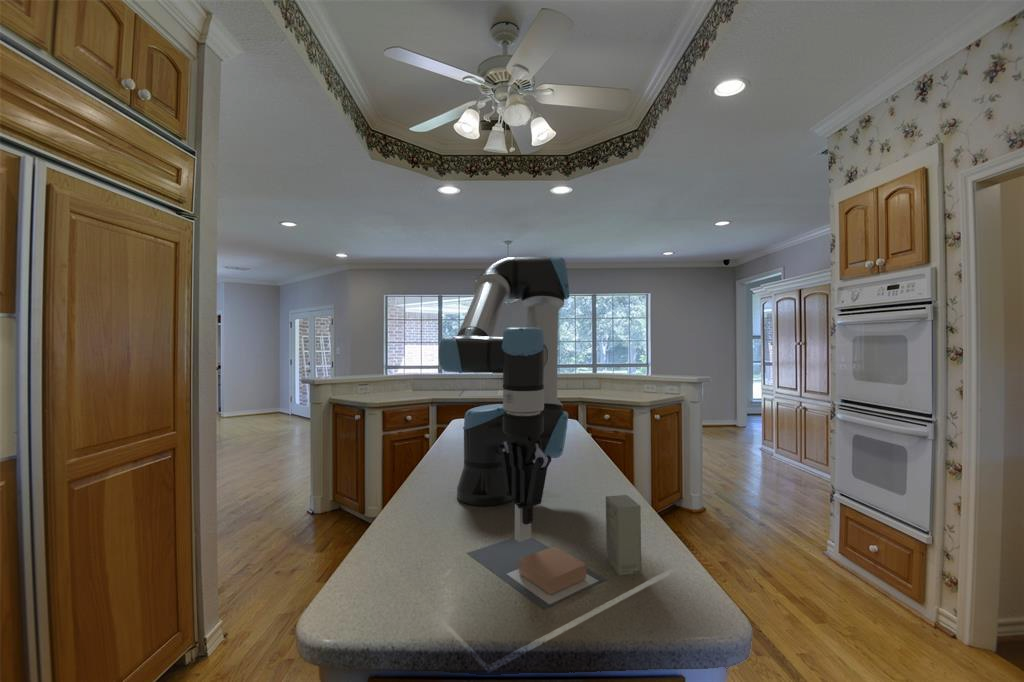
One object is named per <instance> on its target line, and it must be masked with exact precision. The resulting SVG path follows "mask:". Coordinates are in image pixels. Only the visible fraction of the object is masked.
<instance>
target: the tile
mask: <svg viewBox="0 0 1024 682" xmlns="http://www.w3.org/2000/svg"><path fill="white" fill-rule="evenodd" d="M586 568H587V563H585V562H584V561H581V560H579V559H577V558H576V557H574V556H573V555H570V554H569V553H566V552H565V551H564V550H561V549H560V548H557V547H556V546H551V547H550V548H548V549H545V550H543V551H540V552H537V553H535V554H532V555H529V556H527V557H524V558H521V559H519V574H521V575H522V576H524V577H525V578H527V579H528V580H530V581H531V582H533V583H534V584H535V585H537V586H538V587H540V588H541V589H543V590H544V591H546V592H547V593H549V594H550V595H551V594H553V593H555V592H557V591H560V590H562V589H564V588H566V587H568V586H571V585H573V584H575V583H577V582H579V581H581V580H584V579H586Z"/></svg>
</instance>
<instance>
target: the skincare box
mask: <svg viewBox="0 0 1024 682" xmlns="http://www.w3.org/2000/svg"><path fill="white" fill-rule="evenodd" d="M641 511H642V509H641V504H639V502H636V501H635V500H634V499H633V498H631V497H630V496H628V495H627V494H623V495H622V494H621V495H620V494H619V495H608V496H607V495H606V496H605V534H606V535H605V536H606V537H605V539H606V540H605V541H606V543H605V545H606V547H605V548H606V560H607V561H608V563H609V564H610V565H611V567H612V568H613V570H614V571H615V572H616V573H617V575H618V576H627V575H639V574H642V573H643V571H642V528H641V527H642V526H641V525H642V524H641V521H642V519H641V518H642V516H641V514H642V513H641Z"/></svg>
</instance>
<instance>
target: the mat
mask: <svg viewBox="0 0 1024 682" xmlns="http://www.w3.org/2000/svg"><path fill="white" fill-rule="evenodd" d="M548 548H551V547H550V546H548V545H546V544H544V543H542V542H540V541H538V540H537V539H535V538H533V537H532V536H531V538H530V539H527V540H525V541H522V542H518V541H517V540H515V536H514V537H511V538H508V539H504V540H501V541H499V542H496V543H495V542H494V543H493V544H490V545H487V546H484V547H480V548H478V549H475V550H472V551H468V552H466V554H467V555H468V556H469V557H471V558H472V559H473V560H475V561H477V562H478V563H479V564H481V566H483V567H484V568H486V569H487V570H489V571H490V572H491V573H492V574H494V575H495V576H497V577H498V578H500V579H501V580H503V581H504V582H505V583H506V584H507V585H509V586H511V587H512V588H513V589H515V591H517V592H519V593H520V594H522V596H524V597H526V598H527V599H528V600H530V601H531V602H532V603H534V604H535V605H536V606H537V607H539V608H541V610H543V611H545V610H547V609H550V608H552V607H554V606H557V604H560V603H562V602H564V601H566V600H568V599H570V598H572V597H575V596H576V595H579V594H581V593H582V592H585V591H587V590H588V589H591V588H593V587H595V586H597V585H599V584H601V583H603V582H605V581H607V580H608V579H607V578H605V577H603V576H601V575H600V574H598V573H596V572H594V571H592V570H591V569H589V568H587V567H586V579H584V580H581V581H579V582H577V583H575V584H573V585H571V586H568V587H566V588H564V589H562V590H560V591H557V592H555V593H553V594H551V595H550V594H549V593H547V592H546V591H544V590H543V589H541V588H540V587H538V586H537V585H535V584H534V583H533V582H531V581H530V580H528V579H527V578H525V577H524V576H522V575H521V574H519V559H521V558H524V557H527V556H529V555H532V554H535V553H537V552H540V551H543V550H545V549H548Z"/></svg>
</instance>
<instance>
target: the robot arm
mask: <svg viewBox="0 0 1024 682" xmlns="http://www.w3.org/2000/svg"><path fill="white" fill-rule="evenodd" d="M513 299H514V300H521V305H522V307H523V308H524V309H525V310H526V325H525V327H506V328H505V329H504V330H503V331H502V332H503V333H502V336H494V333H495V330H496V327H497V324H498V320H499V317H500V314H501V311H502V308H503V306H504V304H505V303H506V302H507V301H508V300H513ZM567 299H570V287H569V276H568V269H567V263H566V260H565V259H564V258H563V257H561V256H550V255H547V256H517V257H516V256H510V257H504V258H502V259H500V260H498V261H496V262H494V263H492V264H490V265H489V266H488V267H486V269H484V270H483V271H482V272H481V273H480V274H479V276H478V278H477V280H476V281H475V284H474V295H473V298H472V301H471V303H470V304H469V305H470V306H468V307H469V308H468V309H467V312H466V314H465V317H464V319H463V322H462V323H461V326H460V328H459V330H458V332H457V335H450V336H445V337H442V339H440V343H439V345H438V360H439V361H438V362H439V365H440V367H441V370H443V371H444V372H446V373H447V372H450V373H459V374H468V373H470V374H473V373H474V374H477V373H478V374H483V373H485V374H486V373H487V374H488V373H489V374H502V403H495V404H493V403H492V404H486V405H480V406H476V407H473V408H470V409H468V410H467V411H466V412H465V413H464V416H463V417H464V419H463V420H464V421H463V427H462V429H463V468H462V471H461V475H460V477H459V480H458V484H457V487H456V498H457V500H459V501H460V502H462V503H464V504H467V505H471V506H477V507H478V506H479V507H481V506H482V507H484V506H485V507H488V506H490V507H492V506H499V505H503V504H507V503H509V502H512V503H513V518H514V537H515V540H517V541H518V542H522V541H525V540H527V539H530V538H531V537H532V523H533V520H534V519H533V517H534V516H533V514H534V513H533V512H534V511H533V510H534V507H535V506H537V505H541V504H542V500H543V495H544V489H545V483H546V478H547V472H548V467H549V465H550V464H551V462H552V459H558V458H560V457H561V456H562V455H563V453H564V449H565V445H566V438H567V429H568V422H569V413H568V411H565V410H564V405H563V403H562V402H561V401H560V400H559V399H558V369H559V368H558V363H559V361H558V360H559V359H558V358H559V355H558V354H559V311H560V310H561V309H562V308H563V307H564V306H565V300H567Z"/></svg>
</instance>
